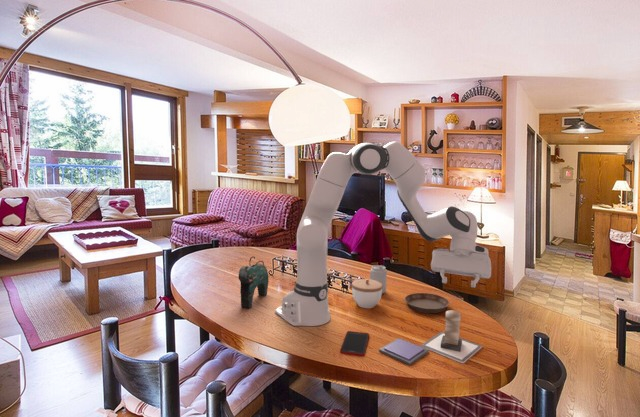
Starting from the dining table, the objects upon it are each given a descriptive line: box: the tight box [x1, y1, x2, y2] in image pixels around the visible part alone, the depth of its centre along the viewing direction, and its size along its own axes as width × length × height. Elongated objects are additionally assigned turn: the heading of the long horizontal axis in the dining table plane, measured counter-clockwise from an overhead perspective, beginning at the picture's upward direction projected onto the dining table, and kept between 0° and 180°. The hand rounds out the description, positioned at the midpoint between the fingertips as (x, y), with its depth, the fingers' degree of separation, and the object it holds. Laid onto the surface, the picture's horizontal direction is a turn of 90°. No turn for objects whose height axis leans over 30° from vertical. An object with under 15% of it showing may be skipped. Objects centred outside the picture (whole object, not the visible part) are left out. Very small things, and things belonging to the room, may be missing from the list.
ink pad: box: [378, 337, 430, 366], centre depth 117 cm, size 11×11×1 cm
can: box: [369, 264, 388, 295], centre depth 169 cm, size 8×8×12 cm
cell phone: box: [339, 330, 370, 357], centre depth 122 cm, size 8×15×1 cm, turn 166°
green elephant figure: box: [238, 256, 269, 310], centre depth 156 cm, size 20×6×20 cm, turn 161°
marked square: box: [420, 331, 483, 364], centre depth 120 cm, size 14×14×1 cm
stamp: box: [440, 309, 463, 352], centre depth 120 cm, size 6×6×11 cm
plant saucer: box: [404, 292, 450, 314], centre depth 154 cm, size 18×18×3 cm
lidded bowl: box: [351, 278, 383, 309], centre depth 154 cm, size 13×13×11 cm
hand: (458, 284), depth 129 cm, fingers open, 8 cm apart
